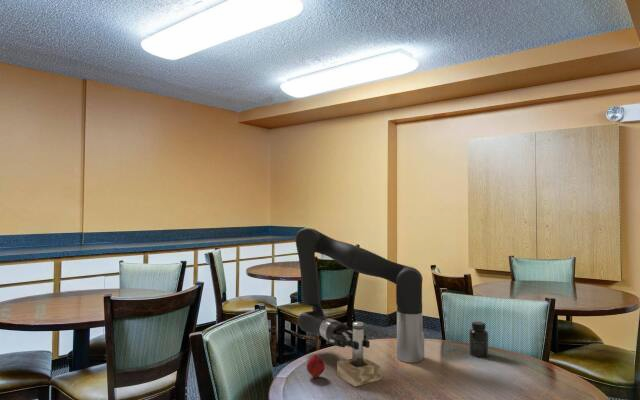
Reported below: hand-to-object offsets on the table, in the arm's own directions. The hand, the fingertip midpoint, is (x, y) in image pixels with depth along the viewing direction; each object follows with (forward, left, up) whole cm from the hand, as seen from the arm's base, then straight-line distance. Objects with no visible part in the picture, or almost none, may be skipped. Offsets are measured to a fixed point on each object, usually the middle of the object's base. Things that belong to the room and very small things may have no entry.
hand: (363, 345), depth 133 cm
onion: (+12, -10, -11) cm, 19 cm away
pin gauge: (0, -3, -8) cm, 9 cm away
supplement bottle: (-53, +2, -11) cm, 54 cm away
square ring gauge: (0, -3, -11) cm, 11 cm away
